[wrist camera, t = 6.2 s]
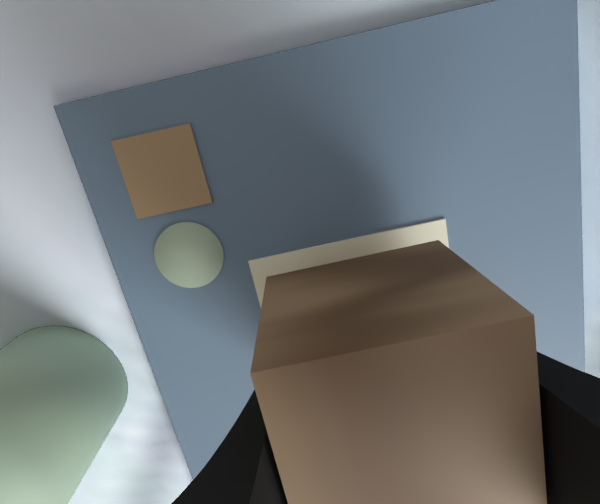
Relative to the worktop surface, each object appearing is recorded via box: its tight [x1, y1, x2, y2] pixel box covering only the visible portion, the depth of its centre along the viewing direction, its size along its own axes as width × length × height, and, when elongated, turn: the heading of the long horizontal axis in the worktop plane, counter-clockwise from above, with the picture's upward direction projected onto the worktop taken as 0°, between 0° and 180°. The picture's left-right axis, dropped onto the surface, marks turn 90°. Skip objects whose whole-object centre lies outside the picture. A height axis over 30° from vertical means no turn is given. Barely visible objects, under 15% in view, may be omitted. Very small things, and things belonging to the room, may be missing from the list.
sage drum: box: [0, 326, 128, 504], centre depth 13 cm, size 5×5×5 cm
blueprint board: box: [54, 0, 585, 480], centre depth 15 cm, size 15×18×1 cm
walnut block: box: [250, 240, 547, 504], centre depth 11 cm, size 5×5×5 cm
